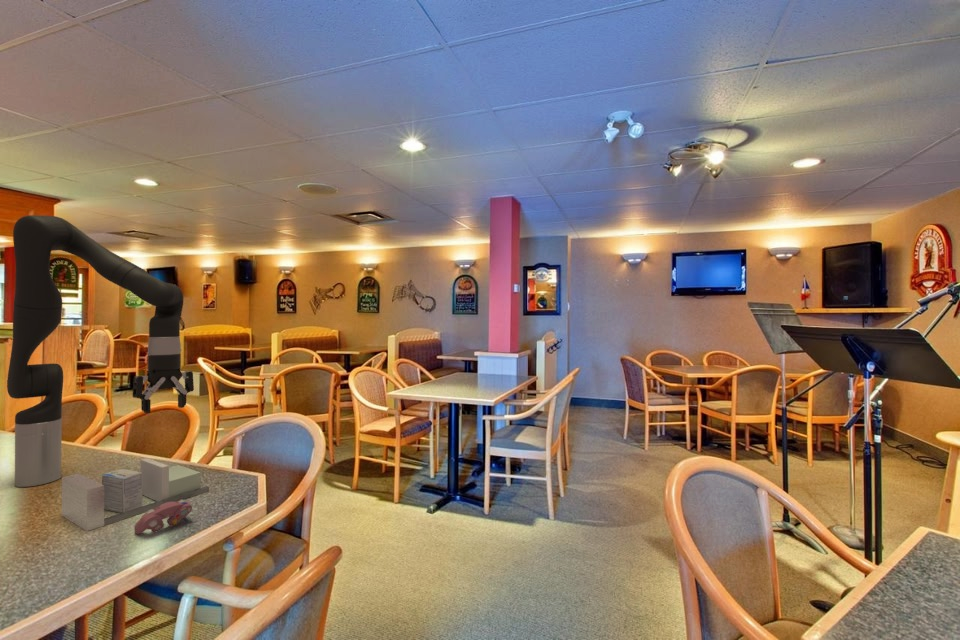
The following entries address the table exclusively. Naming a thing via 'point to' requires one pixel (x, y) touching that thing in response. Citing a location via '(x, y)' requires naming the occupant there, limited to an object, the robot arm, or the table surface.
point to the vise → (100, 502)
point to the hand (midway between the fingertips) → (164, 410)
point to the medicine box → (122, 490)
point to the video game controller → (163, 516)
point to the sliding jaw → (167, 480)
